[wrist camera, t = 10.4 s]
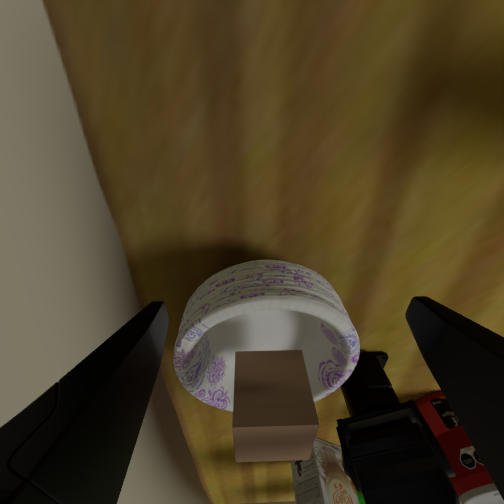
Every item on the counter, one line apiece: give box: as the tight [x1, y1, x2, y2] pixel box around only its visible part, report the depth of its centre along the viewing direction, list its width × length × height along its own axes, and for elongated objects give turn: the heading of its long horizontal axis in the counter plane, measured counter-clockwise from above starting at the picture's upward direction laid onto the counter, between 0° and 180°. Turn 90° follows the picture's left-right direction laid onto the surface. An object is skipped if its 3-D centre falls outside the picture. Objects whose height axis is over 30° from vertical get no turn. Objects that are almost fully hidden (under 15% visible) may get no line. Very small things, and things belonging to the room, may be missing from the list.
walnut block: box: [233, 350, 319, 462], centre depth 17 cm, size 5×5×5 cm
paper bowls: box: [173, 260, 360, 412], centre depth 23 cm, size 15×15×8 cm
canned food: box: [415, 391, 504, 504], centre depth 34 cm, size 8×8×11 cm
